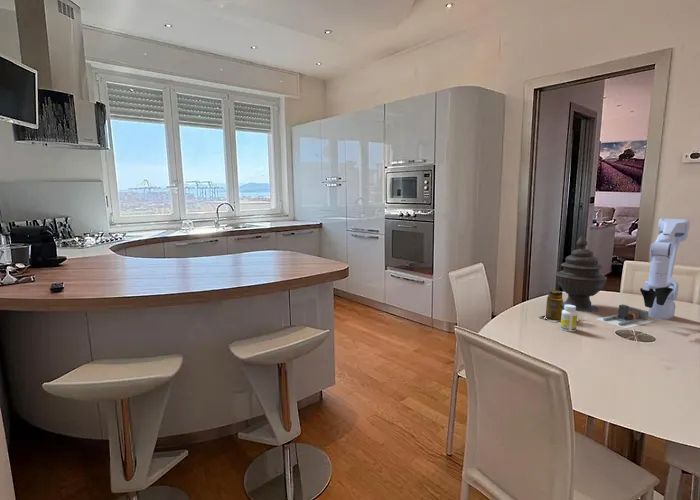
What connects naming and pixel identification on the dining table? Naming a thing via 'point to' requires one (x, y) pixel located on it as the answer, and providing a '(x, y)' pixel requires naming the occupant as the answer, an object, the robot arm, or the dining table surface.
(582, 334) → the dining table surface
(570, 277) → the decorative urn
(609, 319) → the board
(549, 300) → the condiment
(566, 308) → the supplement bottle
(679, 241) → the robot arm
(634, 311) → the nut
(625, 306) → the carriage
